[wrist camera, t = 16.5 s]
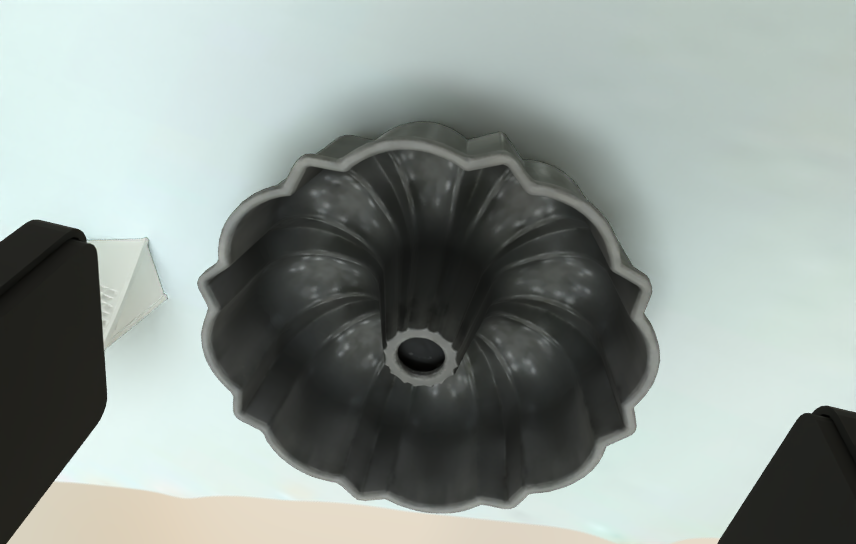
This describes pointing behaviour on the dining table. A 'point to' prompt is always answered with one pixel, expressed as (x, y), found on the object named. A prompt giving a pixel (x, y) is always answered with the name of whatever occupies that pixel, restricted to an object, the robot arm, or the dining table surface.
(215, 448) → the dining table surface
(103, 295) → the skyscraper
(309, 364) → the bundt pan
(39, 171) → the dining table surface
